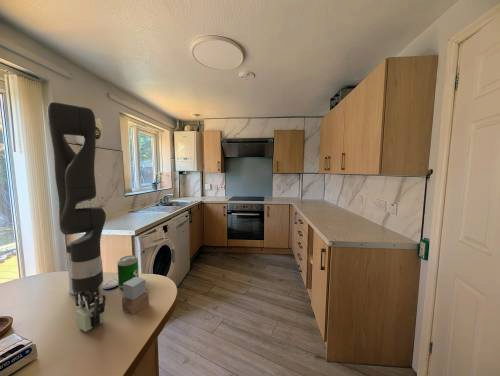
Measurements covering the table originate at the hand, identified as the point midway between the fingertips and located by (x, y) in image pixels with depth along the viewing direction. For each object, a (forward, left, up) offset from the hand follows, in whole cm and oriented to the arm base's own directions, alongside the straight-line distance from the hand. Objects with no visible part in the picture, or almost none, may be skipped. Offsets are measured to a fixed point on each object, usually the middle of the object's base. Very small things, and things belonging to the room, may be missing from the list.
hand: (90, 321), depth 63 cm
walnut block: (+4, +12, -2) cm, 13 cm away
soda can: (-12, +20, -2) cm, 23 cm away
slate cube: (+4, +12, +3) cm, 13 cm away
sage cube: (0, 0, 0) cm, 0 cm away
